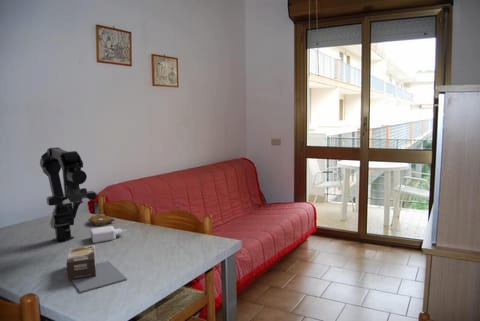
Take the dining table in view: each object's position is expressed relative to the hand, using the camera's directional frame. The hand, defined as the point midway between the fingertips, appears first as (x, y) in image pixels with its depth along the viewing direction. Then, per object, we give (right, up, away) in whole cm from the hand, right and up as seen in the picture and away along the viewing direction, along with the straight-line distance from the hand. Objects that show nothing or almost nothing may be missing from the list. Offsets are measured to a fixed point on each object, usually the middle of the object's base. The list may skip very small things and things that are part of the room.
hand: (73, 217), depth 158 cm
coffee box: (+10, -11, -16) cm, 22 cm away
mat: (+20, -16, -28) cm, 38 cm away
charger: (+10, -12, +14) cm, 21 cm away
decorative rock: (-3, -9, +39) cm, 40 cm away
